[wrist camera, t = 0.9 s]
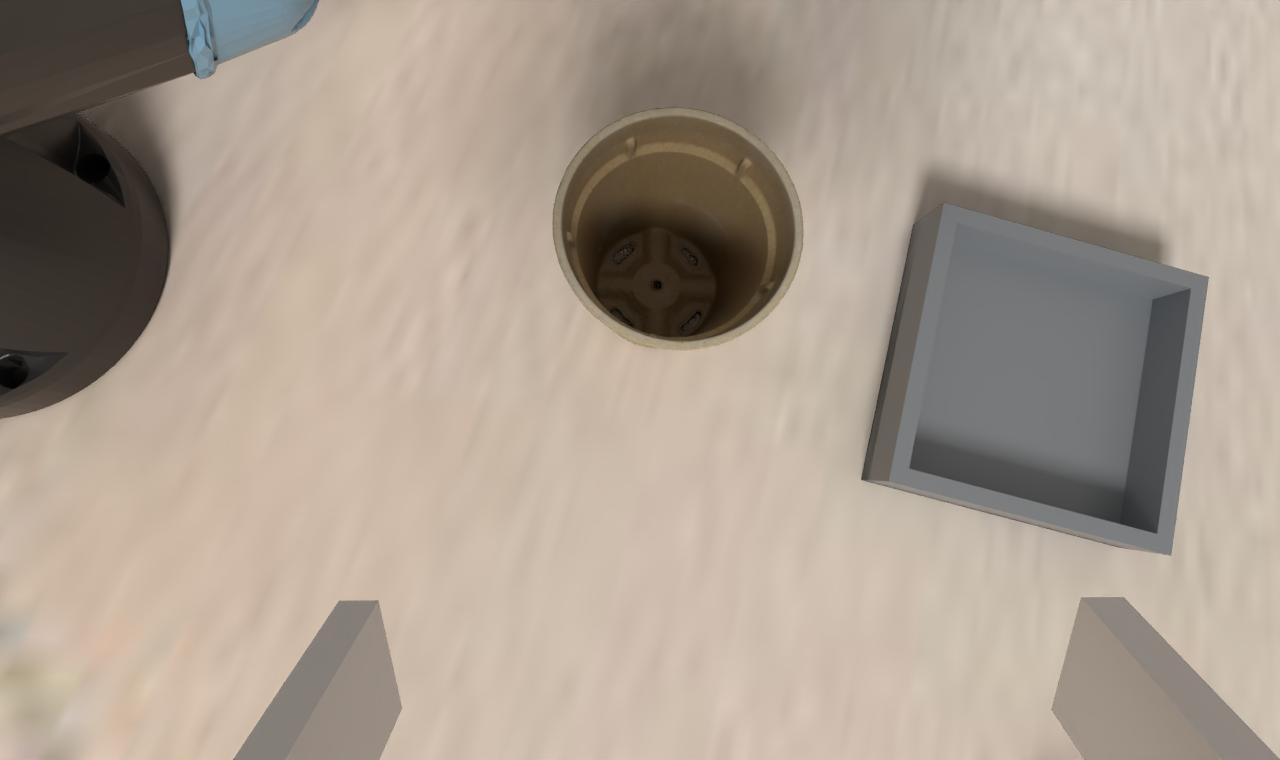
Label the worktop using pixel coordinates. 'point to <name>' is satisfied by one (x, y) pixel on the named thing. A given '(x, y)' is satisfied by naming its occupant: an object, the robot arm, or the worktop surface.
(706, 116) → the flower pot
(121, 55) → the robot arm
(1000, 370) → the tray
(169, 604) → the worktop surface
